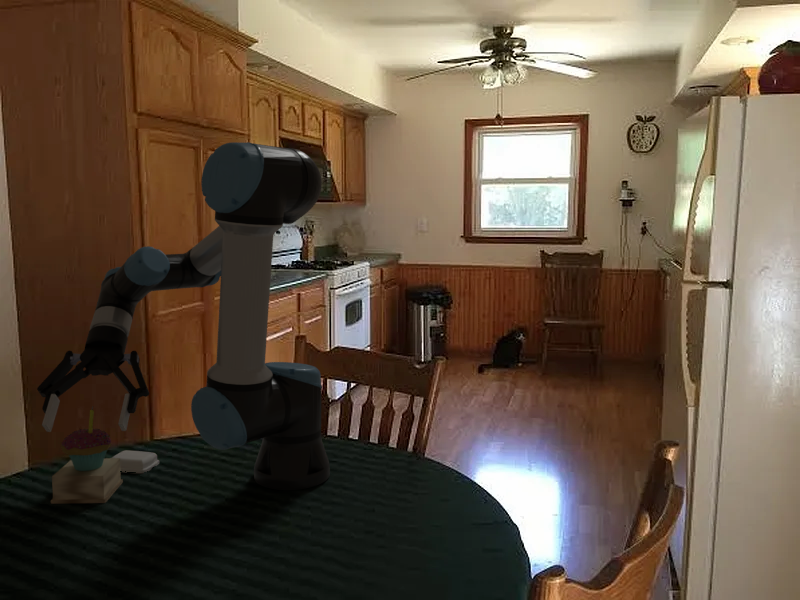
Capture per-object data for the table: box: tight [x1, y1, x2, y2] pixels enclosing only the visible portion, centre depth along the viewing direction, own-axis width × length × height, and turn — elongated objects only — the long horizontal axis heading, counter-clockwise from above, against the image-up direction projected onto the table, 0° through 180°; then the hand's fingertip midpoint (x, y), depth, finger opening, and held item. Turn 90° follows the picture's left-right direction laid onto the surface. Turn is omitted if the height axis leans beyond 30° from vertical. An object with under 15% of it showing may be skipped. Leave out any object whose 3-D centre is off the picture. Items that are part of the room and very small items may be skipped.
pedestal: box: [50, 457, 124, 505], centre depth 128 cm, size 10×10×5 cm
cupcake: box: [60, 405, 112, 471], centre depth 127 cm, size 9×8×12 cm
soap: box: [111, 449, 160, 474], centre depth 141 cm, size 9×7×3 cm
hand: (84, 428), depth 126 cm, fingers open, 13 cm apart
